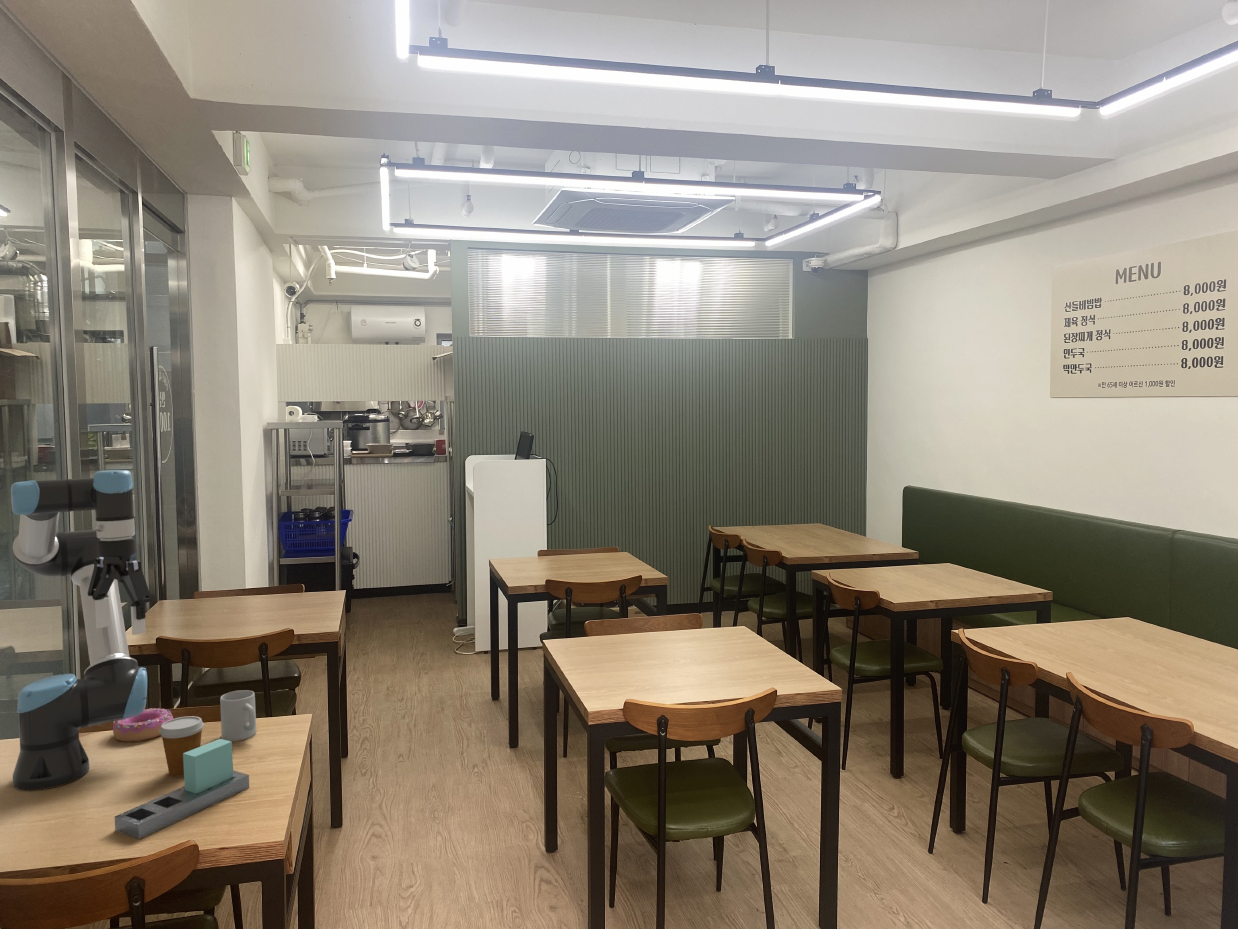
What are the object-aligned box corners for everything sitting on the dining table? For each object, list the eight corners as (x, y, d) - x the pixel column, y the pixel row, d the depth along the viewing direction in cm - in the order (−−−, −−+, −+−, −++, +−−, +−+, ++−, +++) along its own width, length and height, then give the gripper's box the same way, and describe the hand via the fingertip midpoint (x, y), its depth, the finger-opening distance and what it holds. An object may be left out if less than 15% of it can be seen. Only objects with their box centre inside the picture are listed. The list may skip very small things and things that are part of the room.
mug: (215, 736, 222) (213, 696, 221) (246, 727, 229) (244, 687, 228) (238, 747, 215) (236, 705, 214) (269, 736, 222) (267, 696, 221)
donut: (185, 727, 230) (184, 709, 229) (139, 747, 216) (138, 728, 216) (147, 721, 235) (146, 704, 235) (100, 740, 222) (99, 721, 221)
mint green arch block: (185, 802, 184) (183, 753, 183) (222, 785, 192) (220, 738, 191) (197, 805, 182) (194, 756, 181) (233, 788, 190) (231, 741, 189)
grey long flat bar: (115, 830, 172) (114, 816, 172) (226, 780, 195) (225, 768, 195) (139, 839, 168) (138, 825, 168) (249, 787, 191) (248, 774, 191)
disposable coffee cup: (187, 781, 195) (184, 731, 194) (152, 778, 197) (149, 728, 196) (214, 764, 204) (212, 716, 203) (180, 761, 206) (178, 714, 205)
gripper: (67, 537, 192) (72, 628, 193) (133, 543, 180) (138, 640, 181) (100, 533, 198) (104, 620, 200) (166, 538, 187) (170, 632, 188)
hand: (120, 630), depth 190 cm, fingers open, 13 cm apart
